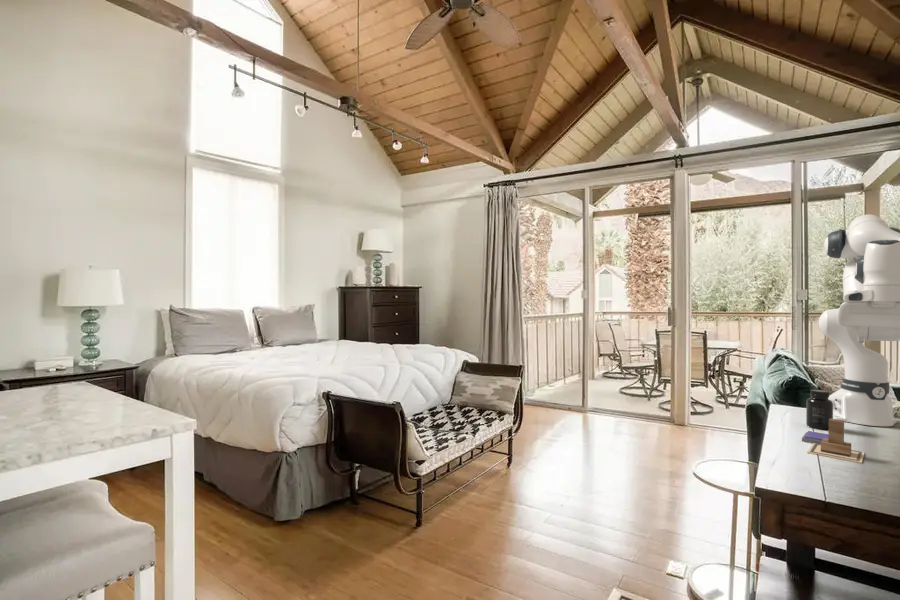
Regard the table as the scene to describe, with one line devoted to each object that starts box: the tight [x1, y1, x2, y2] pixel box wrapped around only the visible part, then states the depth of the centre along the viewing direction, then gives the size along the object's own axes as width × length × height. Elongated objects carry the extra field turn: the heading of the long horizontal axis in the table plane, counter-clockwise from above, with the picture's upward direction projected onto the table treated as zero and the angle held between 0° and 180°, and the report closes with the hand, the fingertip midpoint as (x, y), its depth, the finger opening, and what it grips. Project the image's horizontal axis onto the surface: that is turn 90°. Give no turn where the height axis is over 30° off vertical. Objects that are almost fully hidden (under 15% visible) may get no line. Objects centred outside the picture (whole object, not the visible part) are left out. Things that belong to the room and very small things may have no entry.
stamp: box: [821, 418, 852, 457], centre depth 125 cm, size 5×6×9 cm
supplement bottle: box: [805, 389, 833, 431], centre depth 151 cm, size 7×7×12 cm
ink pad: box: [801, 430, 828, 444], centre depth 136 cm, size 9×8×2 cm
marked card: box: [807, 443, 865, 464], centre depth 125 cm, size 11×11×1 cm
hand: (882, 343), depth 133 cm, fingers open, 8 cm apart
